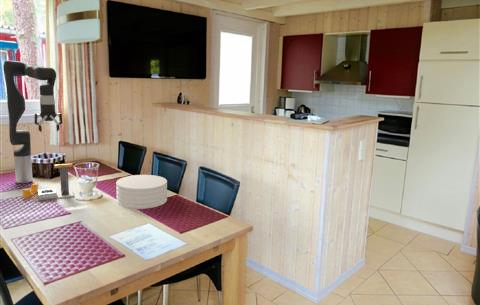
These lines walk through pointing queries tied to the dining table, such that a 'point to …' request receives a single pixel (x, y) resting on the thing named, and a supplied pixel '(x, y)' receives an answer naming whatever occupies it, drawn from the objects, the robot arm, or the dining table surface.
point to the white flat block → (47, 194)
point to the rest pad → (65, 195)
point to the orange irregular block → (30, 191)
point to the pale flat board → (36, 199)
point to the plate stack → (141, 191)
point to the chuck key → (64, 177)
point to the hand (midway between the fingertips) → (49, 131)
